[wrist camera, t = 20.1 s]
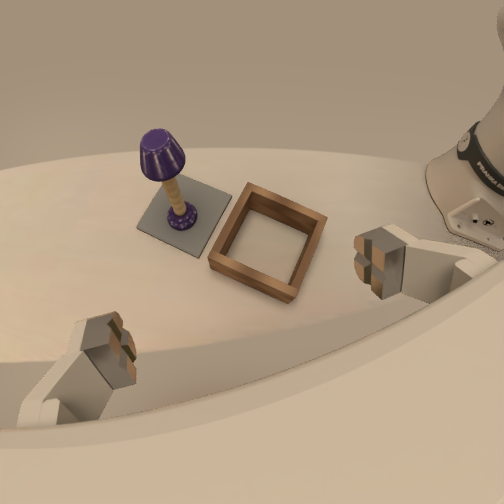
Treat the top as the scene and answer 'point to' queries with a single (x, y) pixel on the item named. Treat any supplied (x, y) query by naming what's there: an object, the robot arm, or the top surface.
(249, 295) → the top surface
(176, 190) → the toy lamp
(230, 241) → the walnut crate
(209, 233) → the slate mat
